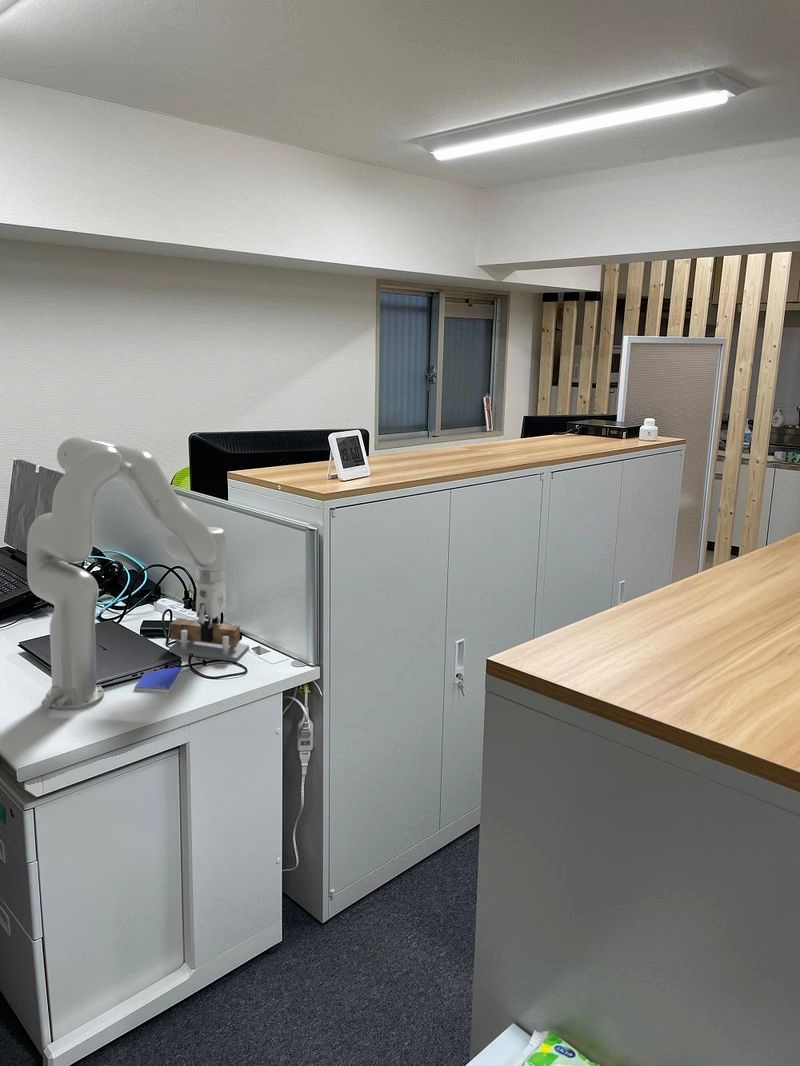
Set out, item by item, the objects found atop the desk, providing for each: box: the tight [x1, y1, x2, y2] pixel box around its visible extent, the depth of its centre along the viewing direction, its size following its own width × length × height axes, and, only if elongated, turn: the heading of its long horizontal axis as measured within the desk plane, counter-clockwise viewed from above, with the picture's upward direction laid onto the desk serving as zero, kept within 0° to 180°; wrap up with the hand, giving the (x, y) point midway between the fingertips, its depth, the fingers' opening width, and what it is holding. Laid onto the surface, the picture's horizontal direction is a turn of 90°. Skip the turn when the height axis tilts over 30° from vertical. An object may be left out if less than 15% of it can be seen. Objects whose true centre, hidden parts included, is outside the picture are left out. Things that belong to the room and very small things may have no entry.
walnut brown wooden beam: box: [169, 617, 241, 646], centre depth 213 cm, size 18×4×4 cm, turn 80°
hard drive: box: [133, 666, 183, 694], centre depth 195 cm, size 2×8×12 cm
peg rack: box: [168, 630, 250, 663], centre depth 214 cm, size 19×9×6 cm, turn 80°
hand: (209, 637), depth 214 cm, fingers closed on walnut brown wooden beam, 3 cm apart
